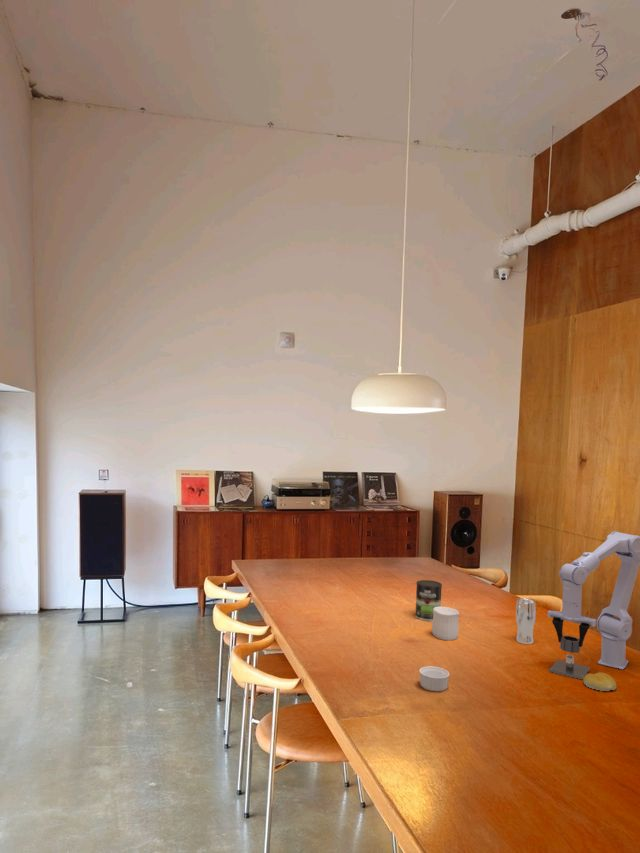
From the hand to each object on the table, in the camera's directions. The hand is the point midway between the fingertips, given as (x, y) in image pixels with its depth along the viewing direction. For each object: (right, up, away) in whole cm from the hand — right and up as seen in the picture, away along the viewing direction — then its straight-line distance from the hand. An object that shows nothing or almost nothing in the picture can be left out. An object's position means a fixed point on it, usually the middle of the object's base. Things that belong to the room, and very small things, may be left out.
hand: (570, 643), depth 195 cm
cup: (-35, -8, +29) cm, 46 cm away
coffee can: (-37, -8, +52) cm, 64 cm away
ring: (0, -2, 0) cm, 2 cm away
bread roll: (+4, -9, -11) cm, 15 cm away
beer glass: (-6, -9, +27) cm, 29 cm away
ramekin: (-48, -7, -16) cm, 51 cm away
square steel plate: (0, -9, 0) cm, 9 cm away
